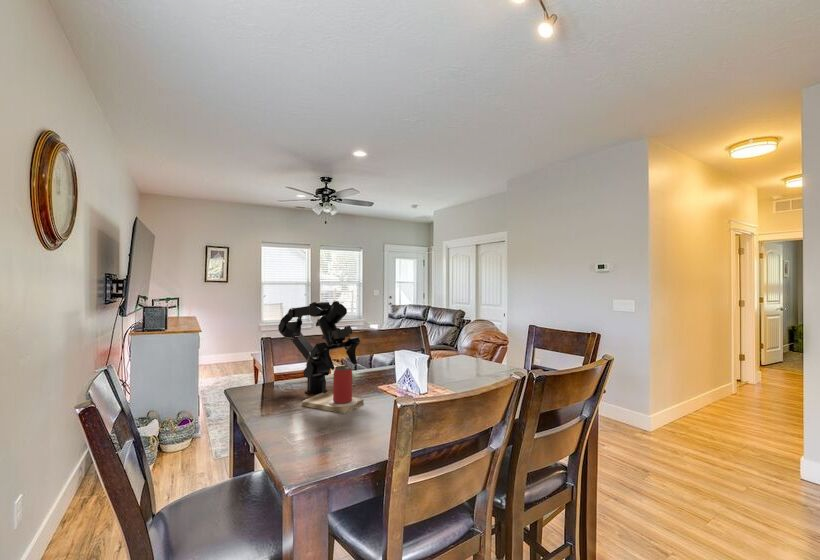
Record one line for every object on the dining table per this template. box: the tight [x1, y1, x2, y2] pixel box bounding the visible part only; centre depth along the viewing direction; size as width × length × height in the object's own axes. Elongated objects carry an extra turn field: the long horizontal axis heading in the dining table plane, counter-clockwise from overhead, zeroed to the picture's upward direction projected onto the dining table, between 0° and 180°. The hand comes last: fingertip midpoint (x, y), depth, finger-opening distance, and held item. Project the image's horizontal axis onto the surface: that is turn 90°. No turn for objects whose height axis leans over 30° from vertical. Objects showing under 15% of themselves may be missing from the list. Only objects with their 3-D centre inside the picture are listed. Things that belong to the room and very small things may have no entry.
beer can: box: [332, 365, 353, 404], centre depth 137 cm, size 7×7×12 cm
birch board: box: [301, 392, 364, 414], centre depth 139 cm, size 18×12×2 cm, turn 66°
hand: (344, 366), depth 143 cm, fingers open, 9 cm apart
